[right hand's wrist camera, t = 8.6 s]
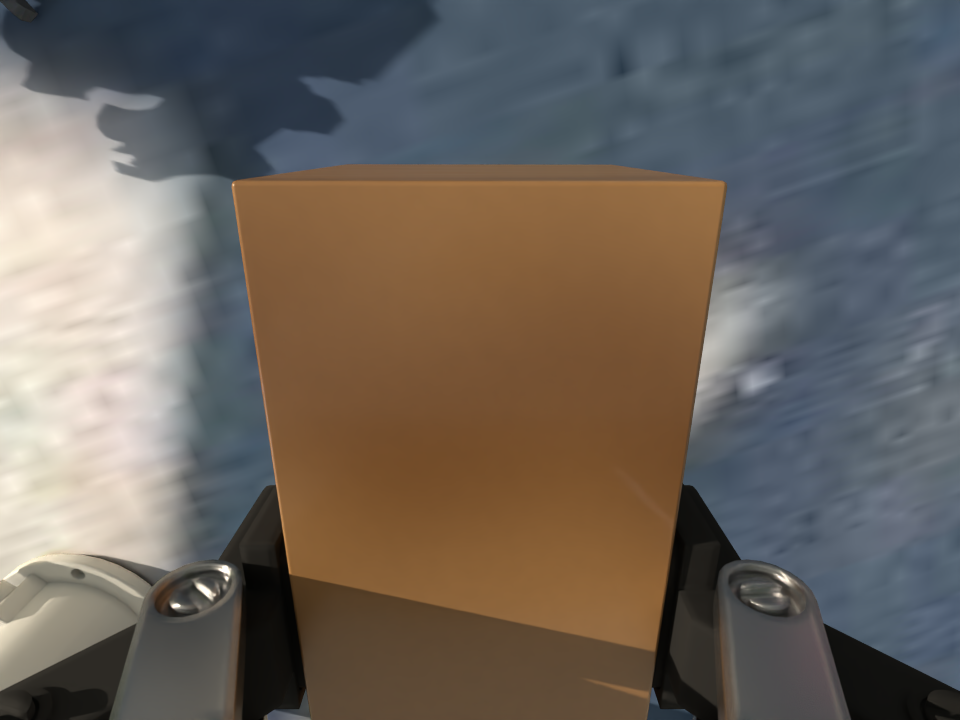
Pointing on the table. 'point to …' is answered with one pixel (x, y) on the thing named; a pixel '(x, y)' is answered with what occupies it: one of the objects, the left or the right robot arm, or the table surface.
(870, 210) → the table surface
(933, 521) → the table surface
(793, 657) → the right robot arm
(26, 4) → the toy
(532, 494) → the beam
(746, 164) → the table surface
